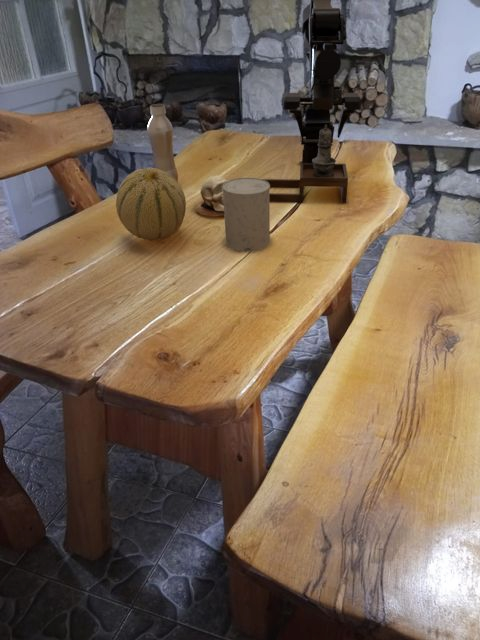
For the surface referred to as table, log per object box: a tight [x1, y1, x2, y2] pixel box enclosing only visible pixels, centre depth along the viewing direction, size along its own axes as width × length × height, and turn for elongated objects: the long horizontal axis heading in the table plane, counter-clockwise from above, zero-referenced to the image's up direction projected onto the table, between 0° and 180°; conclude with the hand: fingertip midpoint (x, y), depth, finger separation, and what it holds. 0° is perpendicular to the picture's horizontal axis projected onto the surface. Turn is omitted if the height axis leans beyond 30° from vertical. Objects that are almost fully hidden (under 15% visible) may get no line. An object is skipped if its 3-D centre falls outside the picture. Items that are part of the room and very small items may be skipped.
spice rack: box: [261, 163, 349, 204], centre depth 138 cm, size 23×11×6 cm, turn 86°
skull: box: [194, 175, 228, 217], centre depth 131 cm, size 12×10×10 cm
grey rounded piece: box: [312, 125, 337, 177], centre depth 133 cm, size 6×6×12 cm
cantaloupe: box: [115, 167, 187, 242], centre depth 115 cm, size 15×15×15 cm
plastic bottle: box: [146, 103, 179, 183], centre depth 139 cm, size 6×7×20 cm
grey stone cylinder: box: [222, 177, 271, 253], centre depth 114 cm, size 10×10×12 cm
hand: (320, 137), depth 140 cm, fingers open, 9 cm apart
